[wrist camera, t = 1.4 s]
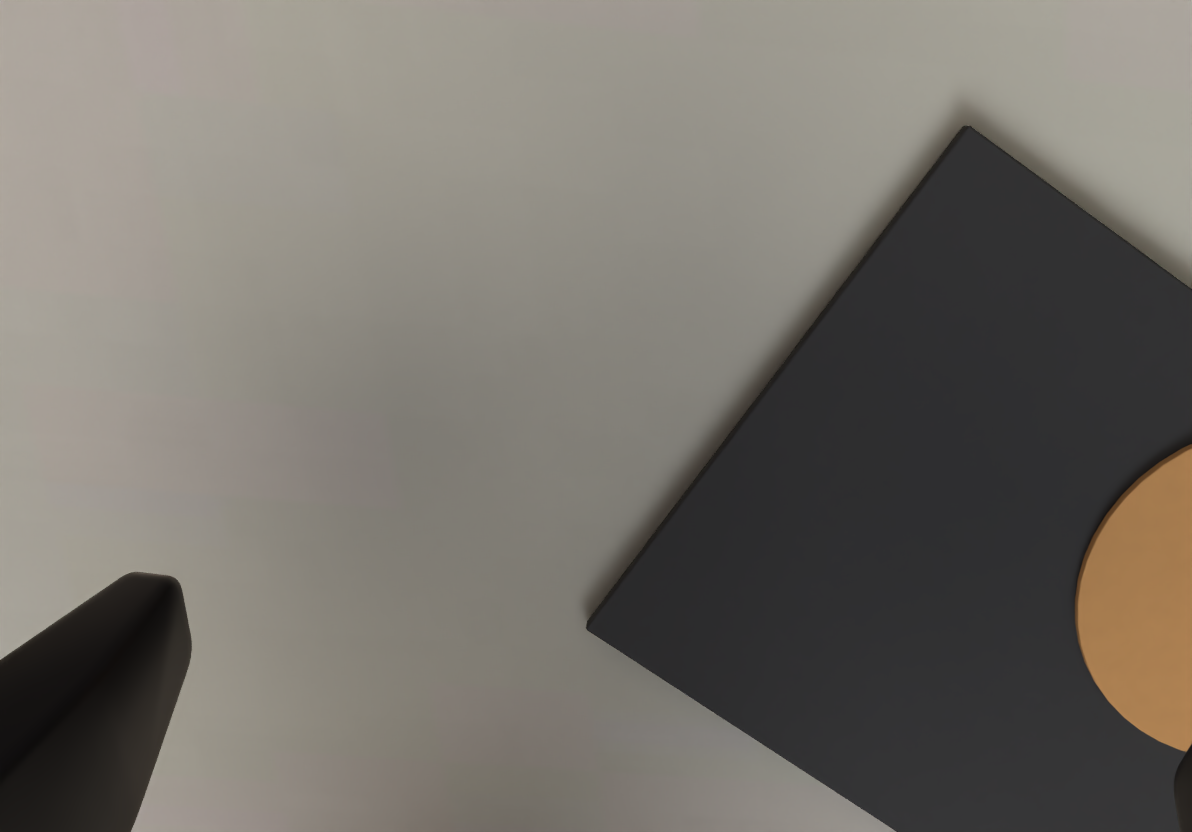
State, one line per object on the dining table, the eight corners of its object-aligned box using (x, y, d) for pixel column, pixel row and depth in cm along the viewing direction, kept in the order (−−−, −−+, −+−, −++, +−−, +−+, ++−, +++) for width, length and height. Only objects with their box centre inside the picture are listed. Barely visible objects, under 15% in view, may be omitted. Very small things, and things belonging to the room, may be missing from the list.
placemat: (1334, 1108, 27) (1348, 1131, 27) (586, 621, 25) (584, 633, 25) (1782, 727, 24) (1810, 743, 23) (963, 124, 22) (971, 125, 21)
